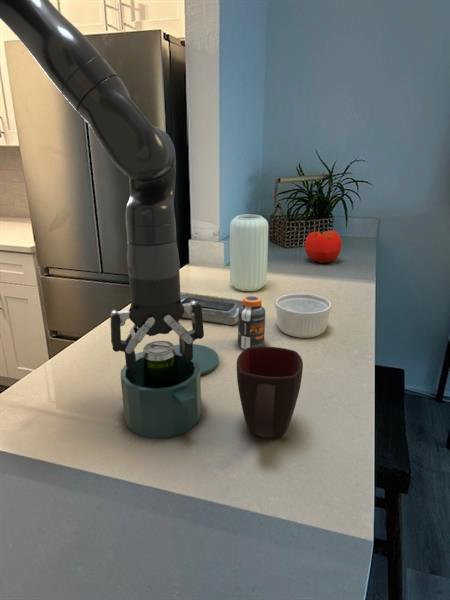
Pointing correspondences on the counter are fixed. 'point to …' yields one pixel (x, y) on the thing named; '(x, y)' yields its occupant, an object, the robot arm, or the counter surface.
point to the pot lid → (201, 356)
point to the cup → (268, 389)
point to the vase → (248, 252)
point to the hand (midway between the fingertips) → (160, 366)
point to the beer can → (159, 364)
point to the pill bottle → (251, 323)
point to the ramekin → (302, 314)
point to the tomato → (323, 246)
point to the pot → (162, 401)
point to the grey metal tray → (214, 302)
